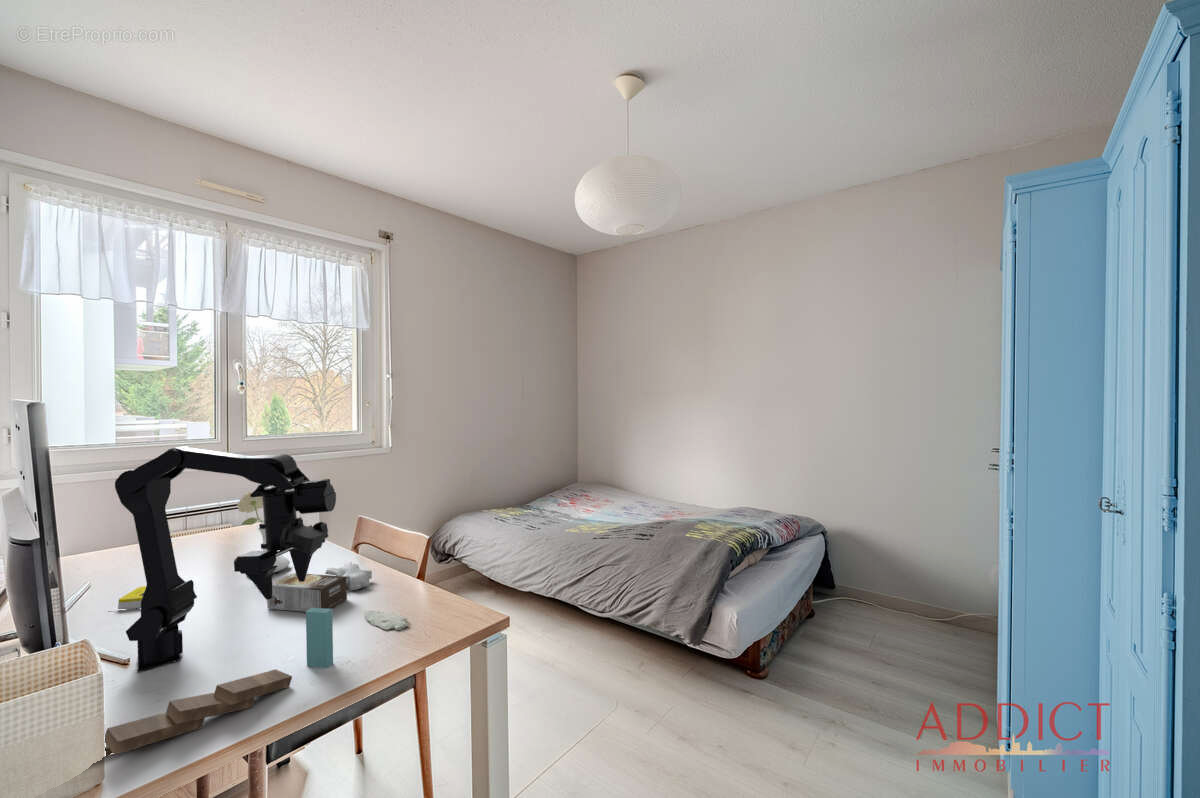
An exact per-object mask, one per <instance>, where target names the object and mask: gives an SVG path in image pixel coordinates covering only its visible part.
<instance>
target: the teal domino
mask: <svg viewBox="0 0 1200 798" xmlns="http://www.w3.org/2000/svg"><path fill="white" fill-rule="evenodd" d="M305 627H306V628H305V630H306V631H305V632H306V633H305V636H306V637H305V639H306V667H309V668H310V667H311V668H322V669H323V668H327V669H328V668H329V667H330V666H331V665H333V664H334V642H333V641H334V640H333V639H334V635H333V631H334V629H333V608H331V609H325V608H311V609H309V610H308V611H306V612H305Z"/></svg>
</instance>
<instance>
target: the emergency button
mask: <svg viewBox="0 0 1200 798" xmlns="http://www.w3.org/2000/svg"><path fill="white" fill-rule="evenodd" d="M145 589H146V585H145V586H139V587H137V588H135V589H133V590H131V591H130V592H128V593H127V594H125V595H123V596H122V597H119V598H118V603H117V604H118V609H134V608H135V609H134V610H139V609H138V608H141V600H142V597H143V594H144V592H145ZM136 608H137V609H136Z"/></svg>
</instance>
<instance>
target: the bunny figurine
mask: <svg viewBox="0 0 1200 798" xmlns="http://www.w3.org/2000/svg"><path fill="white" fill-rule="evenodd" d="M372 574H373V570H369V569H360V566H359V564H357V563H353V562H347V563H345V564H344V565H343V566H341V567H338V568H335V567H327V569H326V570H325V573H324V575H332V576H346V584H347V589H348V588H349V589H350V590H351V591H350V590H349V591H350V592H354V591H356V590H359V589H363V588H366V587H369V586H370V580H371V579H372V578H373V576H372ZM353 590H354V591H353Z"/></svg>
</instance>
